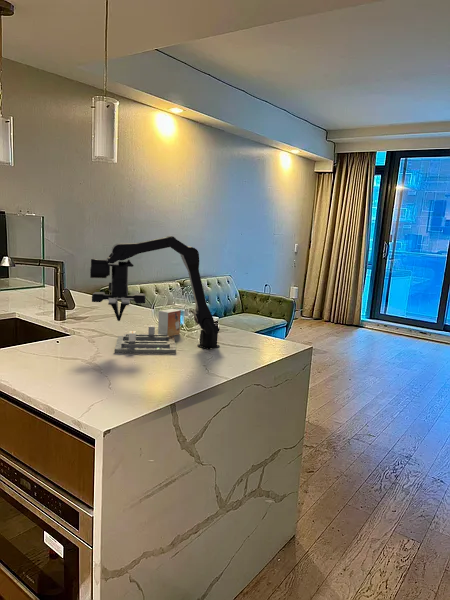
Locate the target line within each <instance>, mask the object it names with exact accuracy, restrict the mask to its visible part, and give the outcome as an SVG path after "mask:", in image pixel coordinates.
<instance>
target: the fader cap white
mask: <svg viewBox="0 0 450 600" xmlns="http://www.w3.org/2000/svg"><path fill="white" fill-rule="evenodd" d="M128 334H129V341H130V343H135V341H136V334H137V331H136V330H129V331H128Z"/></svg>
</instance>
